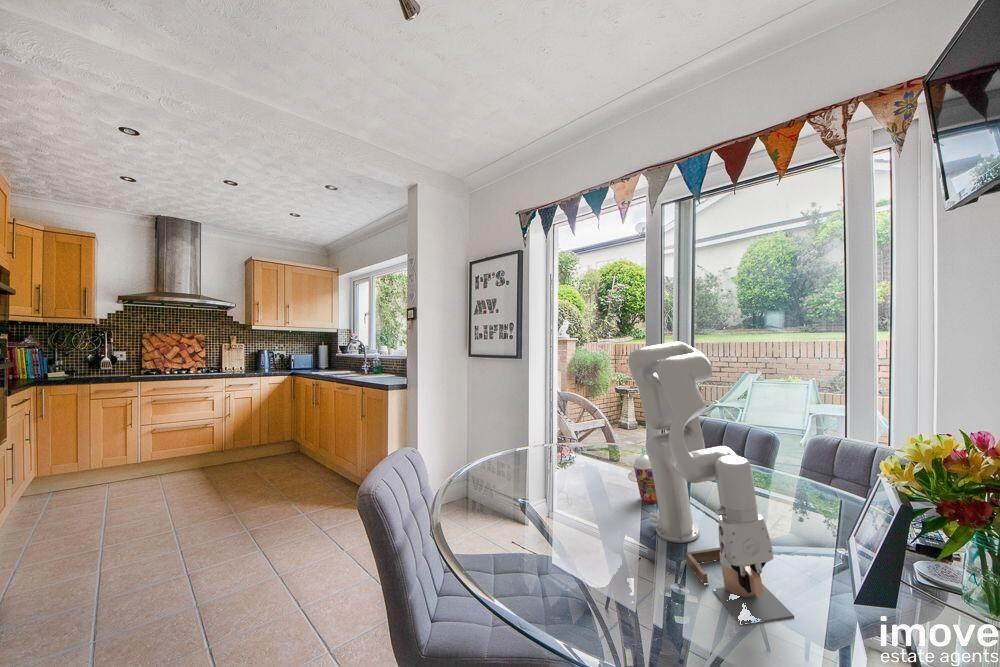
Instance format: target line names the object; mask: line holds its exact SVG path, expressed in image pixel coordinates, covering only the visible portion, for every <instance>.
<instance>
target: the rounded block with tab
mask: <svg viewBox="0 0 1000 667" xmlns="http://www.w3.org/2000/svg"><path fill="white" fill-rule="evenodd" d="M721 555H722V554H721V551H720V560H721ZM720 560H719V561H720ZM720 565H721V564H720ZM745 570H746V574H747V575H748V576H749V581H750V588H751V593H748V592H747V591H746V590H745V589H744V588H743V587H741V586H740V584H739V579H738V572H736V571H735V570H734V569H732V568H726V567H723V566H722V565H721V573H722V580H723V587H725V588H726V590H727V591H729V592H730V593H732V594H734V595H737V596H741V597H749V596H753V595H754V594H755V595H756V596H761V595H763V588H762V584H763V581H762V577H761V575H760V576H759V575H758V574H757V573H756V572H755V571H754V570H753V569H752V568H750V565H745Z"/></svg>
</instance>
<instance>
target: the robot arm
mask: <svg viewBox="0 0 1000 667" xmlns="http://www.w3.org/2000/svg"><path fill="white" fill-rule="evenodd" d="M628 368H629V371H630V374H631V376H632V378H633V380H634V382H635V384H636V386H637V388H638V394H639V397H640V398H639V399H640V402H641V403H640V404H641V407H642V413H643V417H644V420H645V423H646V424H645V425H646V426H647V427H648V429H650V430H653V431H660V430H661V431H662V430H668V429H669V430H668V432H664V433H663V432H662V433H660V434H659V433H658V434H655V435H653V436H651V437H649V438H648V439H647V440H646V441H645V451H646V455H648V458H649V461H650V464H651V468H652V473H653V478H654V484H655V490H656V497H657V502H656V503H657V508H658V513H655V512H652V511H651V512H649V513H648V516H649V522H650V523H654V524H657V525H656V528H655V529H656V533H657V535H658V537H660V538H661V539H662V540H665V541H667V542H671V543H679V544H680V543H690V542H693V541H695V540H696V539H698V538H699V536H700V533H701V532H700V529H699V526H698V525H696V523H694V522H693V515H692V509H691V504H690V496H689V489H688V483H690V484H699V483H700V484H701V483H705V482H710V481H711V482H712V481H715V480H716V486H717V491H718V492H717V493H718V498H719V504H718V505H719V508H717V509H714V510H715V514H716V516H719V517H718V518H719V519H718V543H719V547H720V551H721V554H722V555H721V560H719V564H720V565H722V566H723V567H726V568H732V569H734V570H735V571H736V572H738V579H739V584H740V586H741V587H743V588H744V589H745V590H746V591H747V592H748V593H751V588H750V581H749V576H748V575H747V574H746V570H745V565H750V568H752V569H753V570H754V571H755V572H756V573H757V574H758V575H759V576H760V577H761V574H762V572H763V569H764V567H765V565H766V564H767V563H769V562H771V561H772V560H774V551H773V546H772V541H771V537H770V533H769V531H768V528H767V525H766V521H765V520H764V517H763V516H762V514H759V510H758V502H757V497H756V490H755V489H756V488H755V483H754V477H753V476H754V475H753V470H752V465H751V463H750V461H749V460H748V459H747V458H745V457H743V456H740V455H738V454H737V453H736V452H735V451H734V450H733V449H732V448H730V447H728V446H726V445H719V446H712V447H707V448H706V447H705V446H706V445H705V441H704V435H703V431H702V430H703V429H702V427H701V421H700V417H699V416H700V415H702V414H703V412H704V411H705V410H706V408H707V403H706V400H705V399H704V396H703V394H702V393H701V390H700V389H699V386H698V385H697V383H703V382H707V381H709V380H710V379H711V377H712V375H713V368H712V364H711V362H710V360H709V359H708V358H707V356H706V355H704V354H703V352H701V351H700V350H698V349H697V348H694V347H692V346H690V345H688V344H687V343H685V342H682V341H671V342H666V343H661V344H652V345H647V346H644V347H639V348H636V349H634V350H633V351H631V352H630V353H629V356H628ZM687 482H688V483H687Z"/></svg>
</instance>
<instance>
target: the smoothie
mask: <svg viewBox="0 0 1000 667" xmlns="http://www.w3.org/2000/svg"><path fill="white" fill-rule="evenodd" d="M641 452H642V454H639V455H638V456H637V457H636V458H635V459H634V462H633V463H632V464H633V469H634V473H635V477H636V482H637V487H638V491H639V496H640V498H641V500H642V502H644V503H646V502H647V503H646V504H654V503H653V502H655V503H657V497H656V490H655V484H654V478H653V473H652V468H651V464H650V461H649V458H648V455H647V453H646V454H645V450H644V447H641Z"/></svg>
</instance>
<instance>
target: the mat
mask: <svg viewBox="0 0 1000 667" xmlns="http://www.w3.org/2000/svg"><path fill="white" fill-rule="evenodd" d="M762 588H763V595H761V596H756V595H755V594H754V595H753V596H749V597H741V596H740V597H739V598H737V599H734V600H732V599H730V600H729V596H730V594H732V593H730V592H729V591H727V590H726V588H725V586H723V587H717V588H715V589H716V591H714V592H715V593H716V594H715V593H714V592H713V593H714V594H715V596H716V597H717V598H718V599H719V600H720V602H721V601H722V602H723V603H724V604H725V606H726V607H725V606H724V607H725V608H726V610H728V612H729V613H730V614H731V616H732V615H733V616H734V617H735V618H736V619H735V618H734V617H733V616H732V617H733V618H734V619H735V621H736V620H737V621H738V620H739V619H738V616H739V615H740V612H741V611H742V609H743V607H742V604H743V603H744V605H746V607H747V610H749V611H750V613H751V615H752V616H754V617H755V618H757V619H758V618H759V619H761V620H760V621H767V622H773V621H779V620H784V619H791V618H792V619H793V618H795V615H794V614H793V612H791V611H790V610H789V609H788V607H786V606H785V605H784V604H783V603H782V602H781V601H780V600H779V599H778V598H777V597H776V596H775V595H774V594H773V593H772V592H771V591H770V590H769V589H768V588H767V587H766V586H765V584H763V583H762ZM727 600H728V601H727ZM722 602H721V603H722ZM723 603H722V604H723ZM745 603H746V604H745ZM724 604H723V605H724ZM746 607H745V609H746ZM751 615H750V616H751ZM757 619H756V620H757ZM737 621H736V622H737ZM757 621H758V620H757ZM738 622H739V623H740V620H739V621H738ZM738 622H737V623H738ZM751 622H752V621H751V620H749V621H748V620H747V621H744V620H742V621H741V624H745V623H751ZM754 622H755V621H754ZM739 623H738V624H739Z"/></svg>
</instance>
